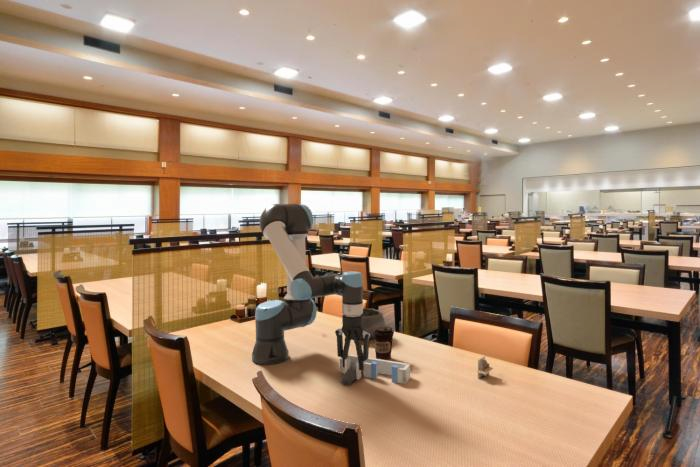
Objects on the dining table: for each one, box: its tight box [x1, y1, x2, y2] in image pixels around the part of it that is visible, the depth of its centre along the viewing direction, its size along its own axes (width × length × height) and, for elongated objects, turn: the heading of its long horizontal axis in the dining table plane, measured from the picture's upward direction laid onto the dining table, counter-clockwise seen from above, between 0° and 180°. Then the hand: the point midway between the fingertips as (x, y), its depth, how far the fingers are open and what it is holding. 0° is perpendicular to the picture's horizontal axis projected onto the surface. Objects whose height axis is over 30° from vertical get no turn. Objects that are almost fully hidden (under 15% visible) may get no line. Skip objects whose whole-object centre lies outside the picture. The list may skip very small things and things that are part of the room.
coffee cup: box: [373, 325, 395, 361], centre depth 165 cm, size 9×8×13 cm
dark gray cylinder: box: [340, 364, 364, 386], centre depth 146 cm, size 12×4×4 cm, turn 156°
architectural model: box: [477, 355, 494, 379], centre depth 146 cm, size 3×7×7 cm, turn 138°
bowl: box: [361, 307, 386, 340], centre depth 193 cm, size 18×18×13 cm
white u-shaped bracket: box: [339, 353, 411, 385], centre depth 149 cm, size 26×6×6 cm, turn 66°
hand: (352, 376), depth 146 cm, fingers closed on dark gray cylinder, 4 cm apart
